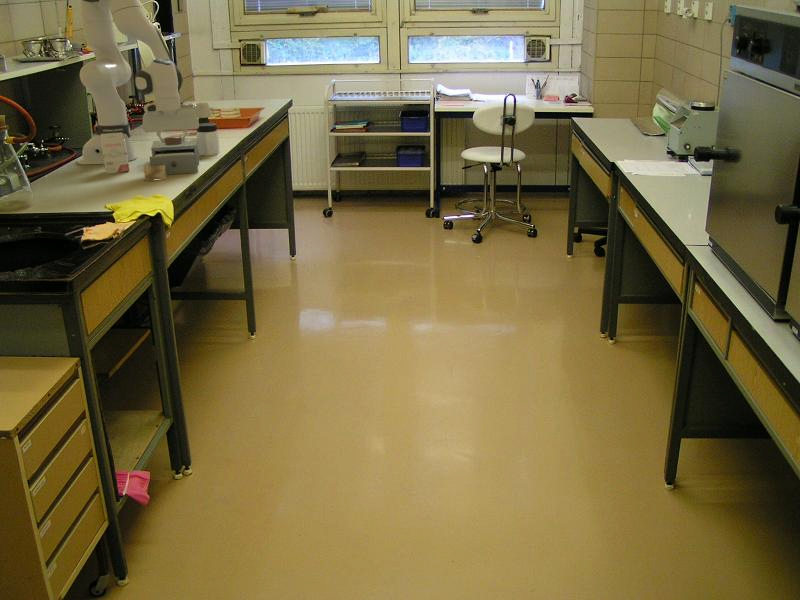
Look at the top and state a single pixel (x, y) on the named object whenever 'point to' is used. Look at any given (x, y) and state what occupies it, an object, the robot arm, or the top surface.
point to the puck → (173, 140)
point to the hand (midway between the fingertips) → (173, 142)
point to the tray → (176, 162)
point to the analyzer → (176, 148)
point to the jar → (208, 139)
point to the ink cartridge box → (114, 153)
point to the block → (155, 172)
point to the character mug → (204, 112)
